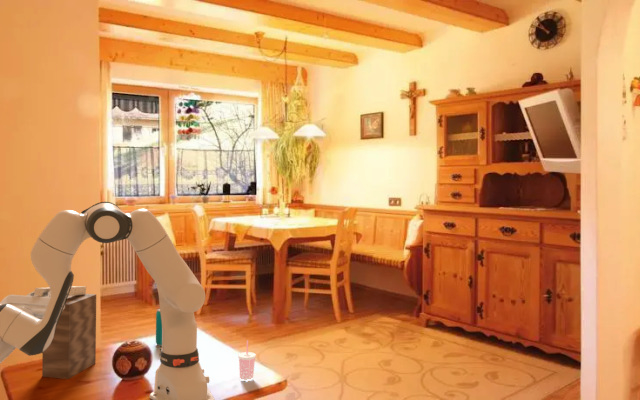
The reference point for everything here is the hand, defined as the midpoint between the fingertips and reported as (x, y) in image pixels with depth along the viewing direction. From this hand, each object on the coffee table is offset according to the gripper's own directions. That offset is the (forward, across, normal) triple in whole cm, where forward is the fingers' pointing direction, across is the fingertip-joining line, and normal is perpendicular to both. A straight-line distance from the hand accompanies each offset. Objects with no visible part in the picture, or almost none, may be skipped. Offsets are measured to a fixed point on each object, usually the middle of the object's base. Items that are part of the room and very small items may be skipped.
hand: (46, 290), depth 177 cm
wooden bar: (+5, 0, +7) cm, 9 cm away
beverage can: (+25, -19, +52) cm, 60 cm away
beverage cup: (+1, -64, +38) cm, 74 cm away
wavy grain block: (-4, 0, +34) cm, 34 cm away
